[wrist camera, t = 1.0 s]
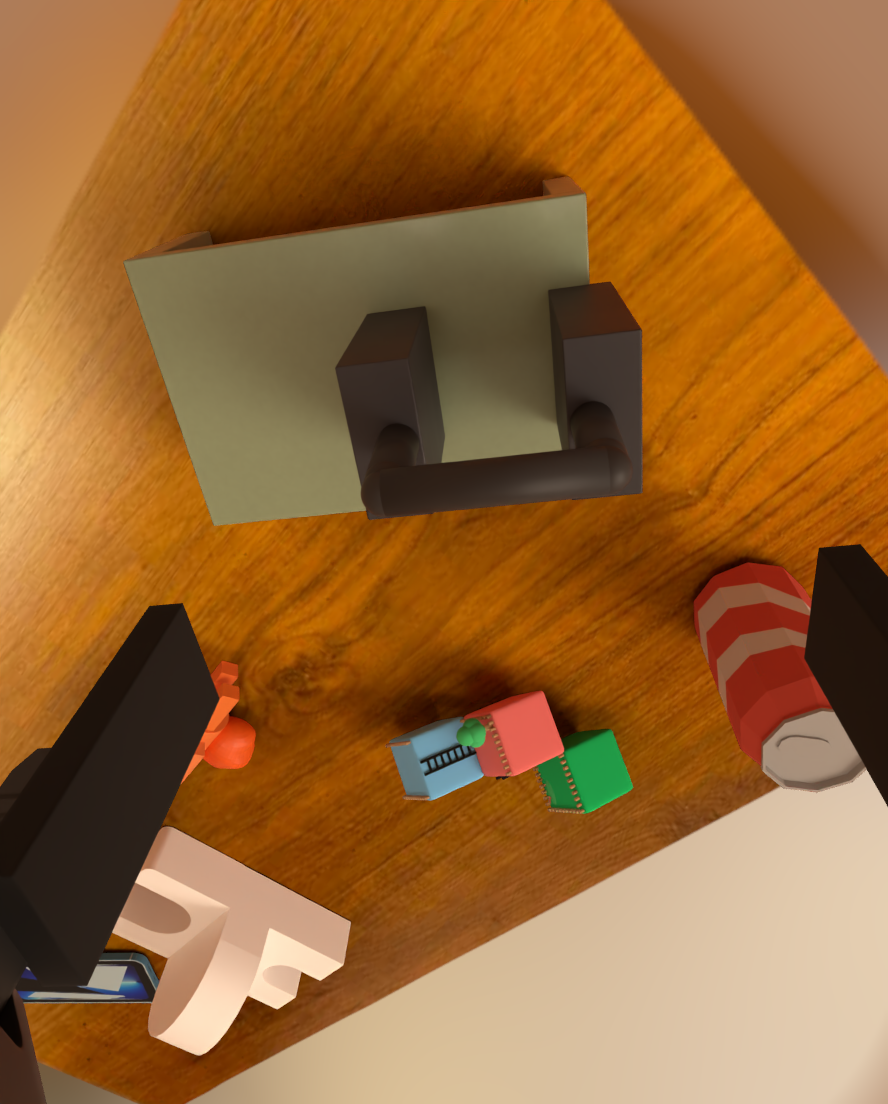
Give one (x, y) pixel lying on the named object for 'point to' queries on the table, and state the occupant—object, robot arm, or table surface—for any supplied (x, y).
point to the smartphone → (99, 983)
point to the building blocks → (513, 755)
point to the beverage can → (772, 677)
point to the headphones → (571, 473)
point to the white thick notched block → (222, 938)
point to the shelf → (330, 324)
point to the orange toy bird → (225, 727)
